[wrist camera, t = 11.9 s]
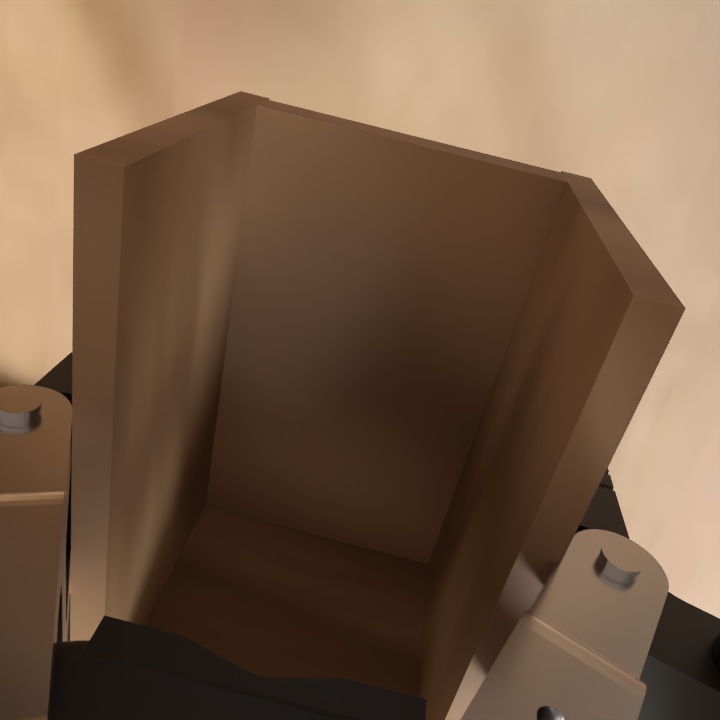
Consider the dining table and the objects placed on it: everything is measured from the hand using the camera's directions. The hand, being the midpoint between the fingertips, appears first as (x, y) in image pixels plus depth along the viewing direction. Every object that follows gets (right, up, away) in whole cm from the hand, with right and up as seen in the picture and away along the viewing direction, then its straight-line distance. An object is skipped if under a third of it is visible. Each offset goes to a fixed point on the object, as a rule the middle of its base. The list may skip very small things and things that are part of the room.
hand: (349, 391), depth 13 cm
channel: (0, 0, +1) cm, 1 cm away
